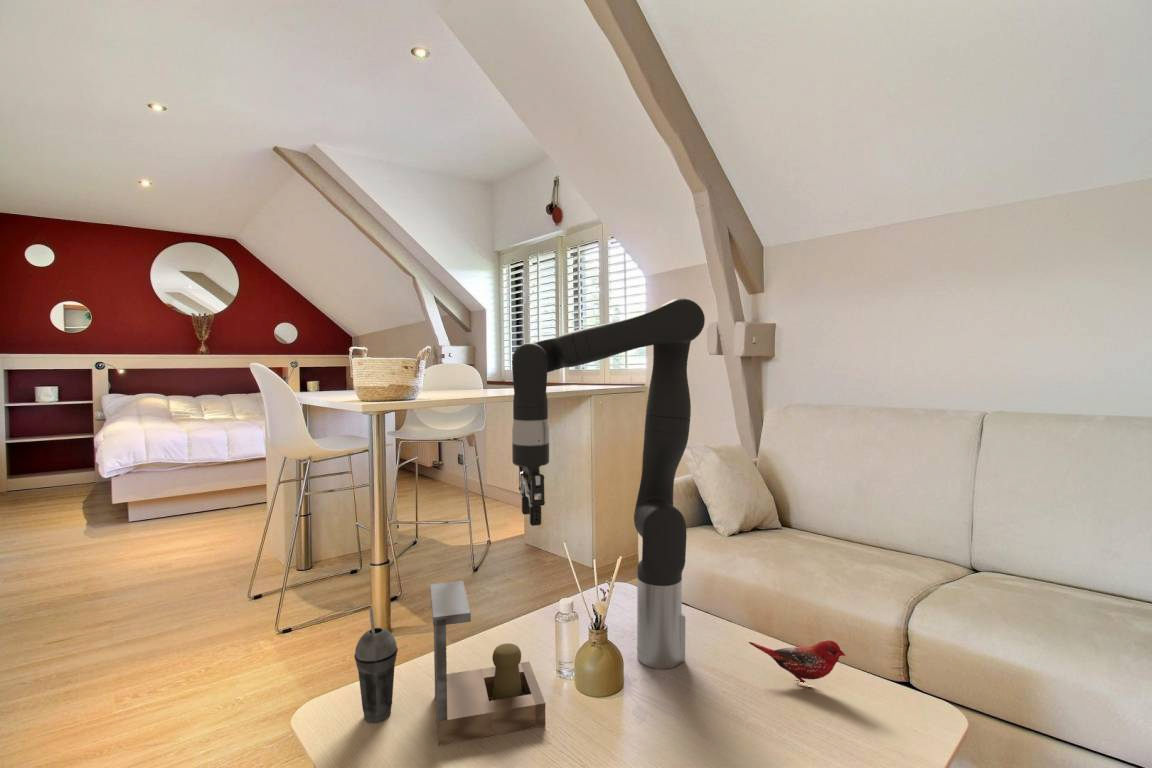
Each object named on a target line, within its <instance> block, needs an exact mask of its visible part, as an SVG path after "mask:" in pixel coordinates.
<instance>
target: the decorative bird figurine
mask: <svg viewBox="0 0 1152 768" xmlns="http://www.w3.org/2000/svg"><path fill="white" fill-rule="evenodd" d="M748 644H749V645H751V646H753V647H754V648H756V649H758V650H759V651H761V652H763V653H765V654H767V655H768V656H770V658H771V659H772V660H774V661H775V663H776V664H777V665H778V666H779V667H780V668H782V669H784V670H785V671H787V672H788V673H790V674H792V675H793V676H794V677H795V678H796V679H795V680H796V681H800V682H803V683H804V682H806V680H819V679H822V678H824V677H826V676H828V675H829V674H830V673H831V672H832V671H833V669H834V668H835V666H836V664H837V663H838V662H839V659H840V657H843V656H844V657H847V655H846V654H845V653H844V652H843V650H842V649H841V648H840V646H839V644H838V643H837V642H836V641H834V640H824V641H820V642H818V643H817V644H814V645H812V646H805V647H804V646H801V647H799V646H798V647H795V646H793V647H784V648H779V649H771V648H768V647H766V646H763V645H760V644H757V643H754V642H751V641H748Z"/></svg>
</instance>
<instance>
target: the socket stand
mask: <svg viewBox="0 0 1152 768" xmlns="http://www.w3.org/2000/svg"><path fill="white" fill-rule="evenodd" d="M464 583H465V582H464V580H460V581H459V580H458V581H451V582H450V581H449V582H440V583H430V585H429V586H430V592H429V593H430V602H431V603H430V604H431V612H432V613H431V614H432V615H431V616H432V626H433V650H434V651H433V653H434V654H433V655H434V656H433V657H434V659H433V660H434V661H433V662H434V663H433V664H434V665H433V666H434V701H435V715H436V719H435V720H436V728H437V729H436V730H437V731H436V732H437V744H438V746H441V745H446V744H453V743H457V742H463V741H469V740H473V739H474V740H475V739H480V738H484V737H491V736H497V735H501V734H507V733H512V732H517V731H522V730H528V729H533V728H538V727H539V728H540V727H545V726H546V701H545V698H544V696H543V694H542V691H541V688H540V686H539V683H538V681H537V678H536V675H535V672H534V670H533V667H532V665H531V663H530V661H523V662H520V663H519V665H518V666H519V673H520V680H521V687H522V693H523V696H517V697H511V698H505V699H499V700H493V701H492V700H490V698H491V699H492V693H493V685H494V676H495V668H496V667H495V666H492V667H485V668H478V669H471V670H464V671H457V672H451V673H450V672H449V673H448V672H447V671H448V670H447V669H448V668H447V663H448V662H447V625H448V626H449V625H457V624H464V623H471V621H472V620H471V619H472V615H471V614H472V613H471V607H470V604H469V600H468V599H469V598H468V595H467V591H466V587H465V584H464Z"/></svg>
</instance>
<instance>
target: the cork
mask: <svg viewBox="0 0 1152 768" xmlns="http://www.w3.org/2000/svg"><path fill="white" fill-rule="evenodd" d="M491 658H492V662H493V665H494V667H496V668H495V676H494V685H493V693H492V698H491V701H493V700H499V699H505V698H511V697H517V696H523V695H524V693H523V692H522V687H521V680H520V673H519V666H518V665H519V663H521V661H522V652H521V649H520V647H519V646H518V645H516V644H514V643H506V642H505V643H502V644H500V645H497V646H496V647H495V648H494V650H493V653H492V657H491Z"/></svg>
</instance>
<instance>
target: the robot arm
mask: <svg viewBox="0 0 1152 768" xmlns="http://www.w3.org/2000/svg"><path fill="white" fill-rule="evenodd" d="M705 320H706V319H705V313H704V311H703V309H702V307H701V306H700V305H699V304H698V303H696V302H695V301H693V300H691V299H687V298H681V297H680V298H674V299H671V300H669V301H667V302H665V303H663V304H662V305H661V306H659V307H657V308H655V309H653V310H651V311H649V312H645V313H643V314H640V315H637V316H633V317H631V318H627V319H623V320H617V321H614V322H608V323H603V324H597V325H594V326H590V327H584V328H581V329H577V330H574V331H570V332H566V333H564V334H563V333H562V334H561V335H559V336H556V337H553V338H548V339H544V340H539V341H535V342H533V341H532V342H526V343H523V344H521V345H519V346H518V347H517V348H516V349H515V350H514V352H513V354H512V358H511V359H512V360H511V364H512V365H511V366H512V368H511V369H512V381H513V382H512V383H513V392H514V393H513V399H512V400H513V401H512V404H513V407H512V412H513V413H512V414H513V416H512V419H513V420H512V421H513V422H512V428H511V433H512V434H511V435H512V436H511V439H512V441H511V444H512V445H511V446H512V447H511V448H512V449H511V450H512V464H513V465H514V466H517V467H518V490H519V492H520V496H521V513H522V515H529V525H531V526H532V527H533V526H541V524H542V507H543V506H545V503H546V501H545V476H544V474H543V473H541V472H540V471H541V470H540V467H542V466H547V465H548V464H549V462H550V428H549V419H548V418H549V414H548V413H549V412H548V411H549V409H548V408H549V406H548V404H549V403H548V395H547V385H548V384H547V383H548V373H551V372H554V371H558V370H561V369H564V368H573V367H574V368H575V367H579V366H583V365H586V364H590V363H594V362H597V361H601V360H603V359H607V358H610V357H614V356H616V355H619V354H622V353H626V352H629V351H632V350H637V349H640V348H645V347H649V346H652V347H653V348H652V350H653V353H652V354H653V355H652V356H653V359H652V371H651V378H650V384H649V389H648V395H647V401H646V403H647V404H646V409H645V413H646V414H645V421H644V434H643V437H644V438H643V449H642V462H641V463H642V465H641V466H642V467H641V476H640V477H641V478H640V483H639V488H638V494H637V498H636V504H635V509H634V512H633V513H634V514H633V522H634V527H635V529H636V532H637V533H638V535H639V536H640V537H641V538H642V549H641V553H642V554H641V560H640V561H639V562H638V564H637V568H636V569H637V570H636V571H637V573H636V576H637V580H636V581H637V582H636V583H637V587H636V589H637V590H636V591H637V593H636V594H637V597H636V598H637V601H636V602H637V606H636V608H637V610H636V614H637V615H636V617H637V619H636V620H637V621H636V622H637V623H636V624H637V625H636V630H637V631H636V637H637V638H636V640H637V641H636V642H637V643H636V652H637V653H636V657H637V660H638V661H639V662H640V663H641V664H643V665H645V666H647V667H649V668H652V669H653V668H654V669H658V670H659V669H661V670H662V669H671V668H674V667H676V666H678V665H680V663H683V662H686V616H685V615H684V614H683V613H682V612H683V611H682V604H683V603H682V602H683V600H682V599H683V597H682V596H683V595H682V589H683V586H682V584H683V581H682V580H683V579H682V578H683V570H684V569H685V565H686V557H687V556H686V551H687V524H686V518H685V517H684V516H683V515H684V514H683V513H682V512H681V511H680V510H679V509H677V508H676V507H675V506H674V484H675V477H676V473H677V469H678V467H679V465H680V463H681V460H682V457H683V455H684V453H685V451H686V448H687V446H688V445H687V444H688V443H689V442H688V441H689V437H690V436H689V435H690V427H691V414H692V412H691V411H692V407H691V405H692V404H691V403H692V402H691V395H690V387H689V381H688V380H689V379H688V360H689V359H688V358H689V352H690V347H691V342H692V341H693V340H695V339H697V338H698V337H699V336H700V334H701V333H702V331H703V330H704V327H705V322H706V321H705ZM535 497H537V499H535Z"/></svg>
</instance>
